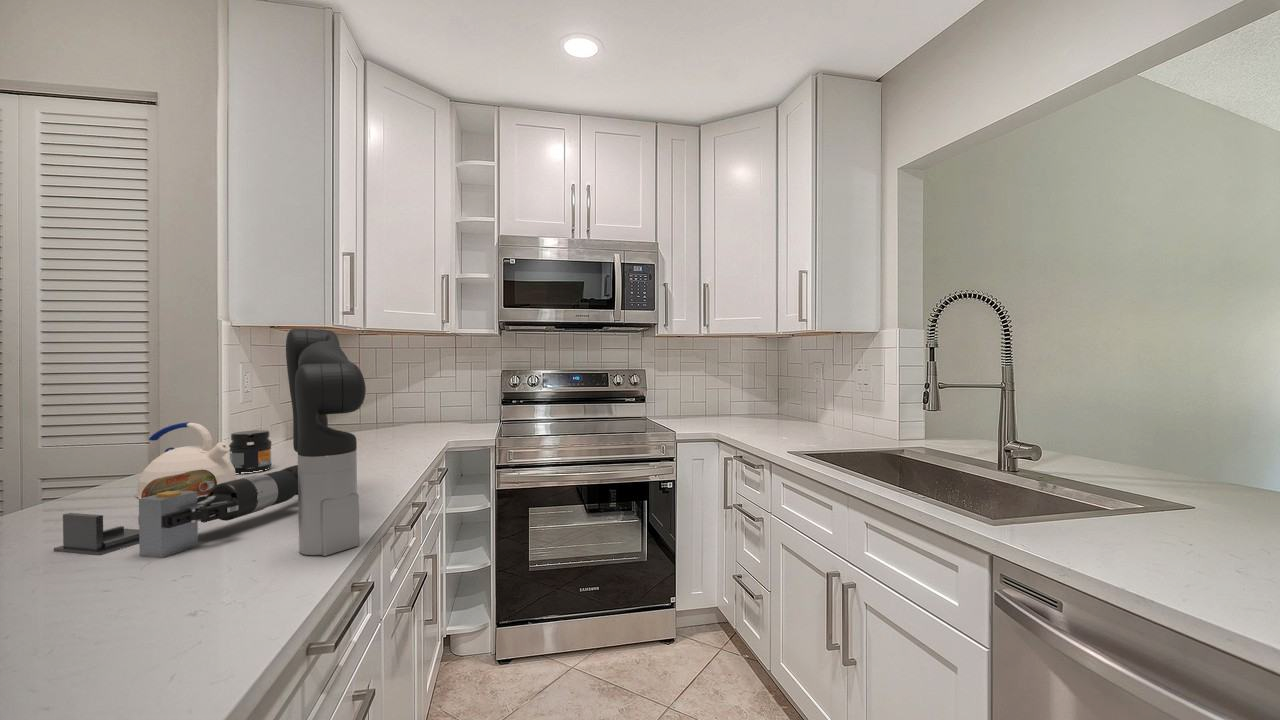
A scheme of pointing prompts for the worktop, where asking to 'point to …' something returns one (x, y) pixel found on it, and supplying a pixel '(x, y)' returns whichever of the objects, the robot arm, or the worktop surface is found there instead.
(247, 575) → the worktop surface
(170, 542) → the metal block with pad
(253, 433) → the supplement container
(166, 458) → the kettle
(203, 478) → the tin
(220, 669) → the worktop surface
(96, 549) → the bracket
